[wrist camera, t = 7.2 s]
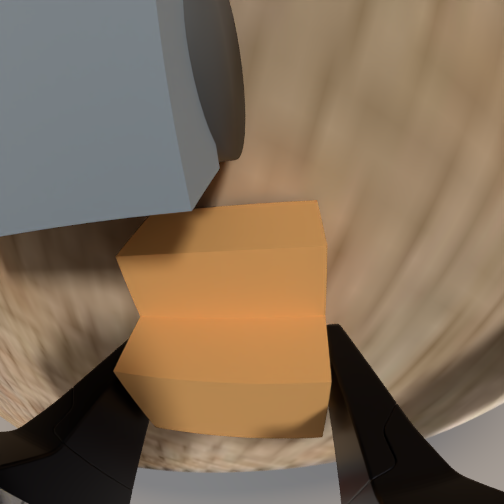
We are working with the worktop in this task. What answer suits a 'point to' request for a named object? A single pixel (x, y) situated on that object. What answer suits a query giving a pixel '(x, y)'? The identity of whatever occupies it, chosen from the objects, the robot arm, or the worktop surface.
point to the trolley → (114, 108)
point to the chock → (230, 320)
